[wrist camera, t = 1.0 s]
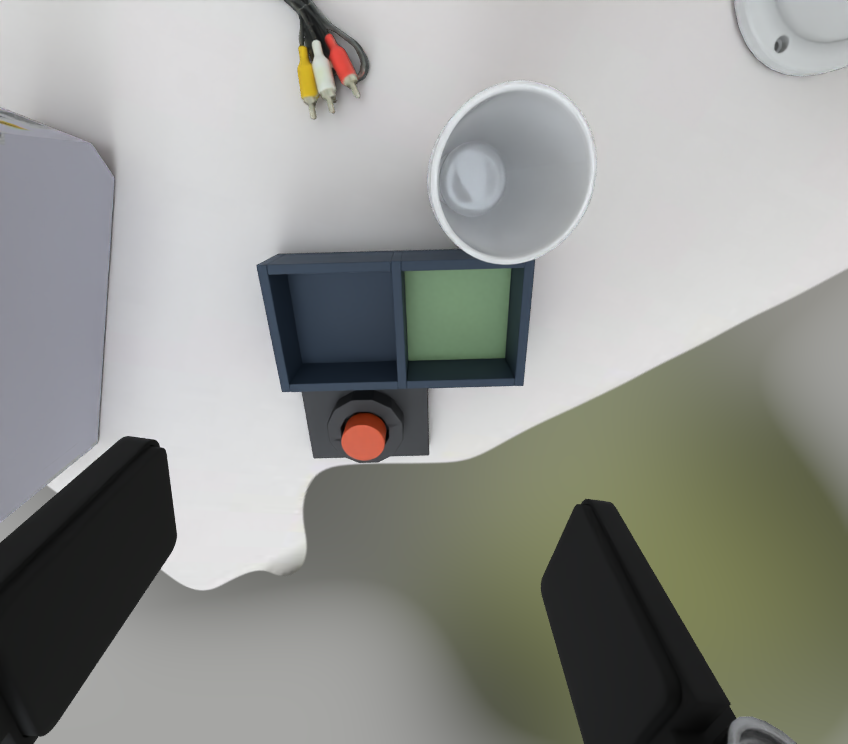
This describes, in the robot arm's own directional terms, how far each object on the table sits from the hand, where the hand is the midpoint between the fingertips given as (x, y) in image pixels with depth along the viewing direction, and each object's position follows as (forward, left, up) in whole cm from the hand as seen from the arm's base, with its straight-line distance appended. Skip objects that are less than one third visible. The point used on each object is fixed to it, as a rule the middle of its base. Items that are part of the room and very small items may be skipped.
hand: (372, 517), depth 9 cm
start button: (+4, +13, -22) cm, 26 cm away
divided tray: (0, +3, -26) cm, 26 cm away
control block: (+4, +13, -26) cm, 29 cm away
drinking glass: (-5, -7, -26) cm, 27 cm away
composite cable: (+5, -16, -26) cm, 31 cm away
